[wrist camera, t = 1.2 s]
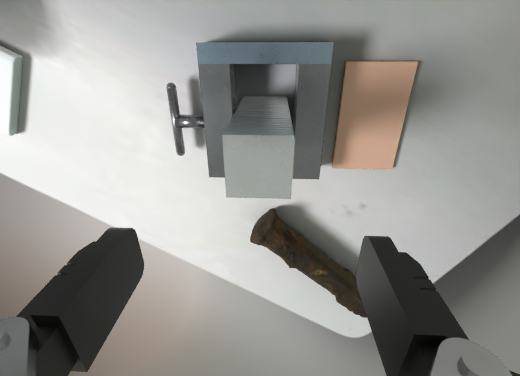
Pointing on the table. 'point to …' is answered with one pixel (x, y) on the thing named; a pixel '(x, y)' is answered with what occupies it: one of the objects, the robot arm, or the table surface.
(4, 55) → the external hard drive
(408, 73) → the mat
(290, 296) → the table surface
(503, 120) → the table surface
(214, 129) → the vise
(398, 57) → the table surface
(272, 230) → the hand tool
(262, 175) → the steel bar
